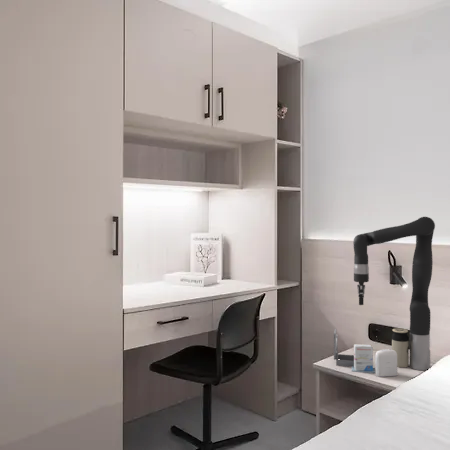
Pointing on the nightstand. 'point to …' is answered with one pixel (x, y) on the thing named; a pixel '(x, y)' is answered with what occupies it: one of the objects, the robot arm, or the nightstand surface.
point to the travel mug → (401, 346)
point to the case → (342, 355)
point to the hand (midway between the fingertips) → (361, 303)
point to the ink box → (363, 357)
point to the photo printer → (386, 363)
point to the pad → (363, 371)
